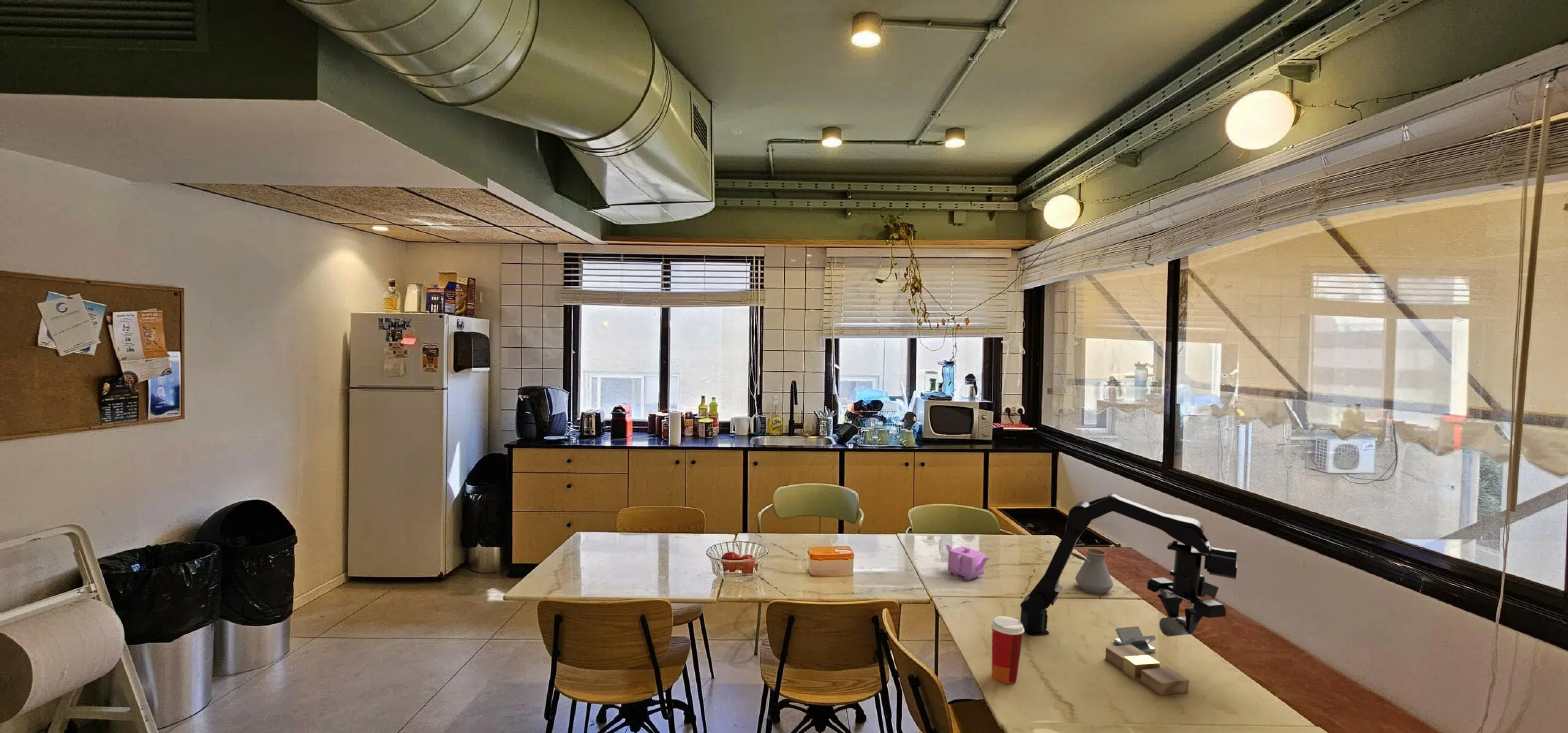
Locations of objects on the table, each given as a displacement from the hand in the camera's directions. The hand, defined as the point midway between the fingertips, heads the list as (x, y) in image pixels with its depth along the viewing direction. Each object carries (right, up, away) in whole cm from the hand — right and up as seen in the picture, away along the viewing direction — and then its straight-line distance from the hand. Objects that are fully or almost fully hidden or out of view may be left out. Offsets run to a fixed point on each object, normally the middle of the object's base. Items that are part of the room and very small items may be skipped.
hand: (1182, 629), depth 170 cm
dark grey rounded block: (-2, -1, 0) cm, 2 cm away
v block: (-6, -10, +13) cm, 17 cm away
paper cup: (-48, -9, -7) cm, 49 cm away
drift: (-12, -11, -2) cm, 16 cm away
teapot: (-38, -6, +62) cm, 73 cm away
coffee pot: (-2, -8, +51) cm, 52 cm away
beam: (-11, -10, -2) cm, 15 cm away
